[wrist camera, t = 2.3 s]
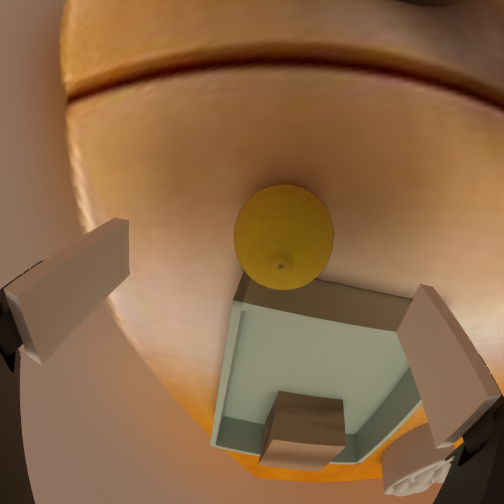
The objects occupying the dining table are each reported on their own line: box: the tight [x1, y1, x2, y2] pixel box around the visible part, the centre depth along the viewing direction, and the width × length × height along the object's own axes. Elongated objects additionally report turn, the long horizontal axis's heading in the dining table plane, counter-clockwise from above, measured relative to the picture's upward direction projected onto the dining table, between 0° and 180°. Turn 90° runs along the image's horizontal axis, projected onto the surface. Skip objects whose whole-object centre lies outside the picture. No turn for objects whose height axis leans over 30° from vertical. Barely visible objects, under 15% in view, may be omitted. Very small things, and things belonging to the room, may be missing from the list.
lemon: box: [234, 184, 334, 290], centre depth 16 cm, size 6×6×8 cm
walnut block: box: [258, 391, 346, 471], centre depth 24 cm, size 7×7×6 cm
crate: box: [210, 271, 422, 464], centre depth 23 cm, size 21×18×5 cm
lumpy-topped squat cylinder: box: [381, 423, 455, 496], centre depth 26 cm, size 10×13×9 cm
